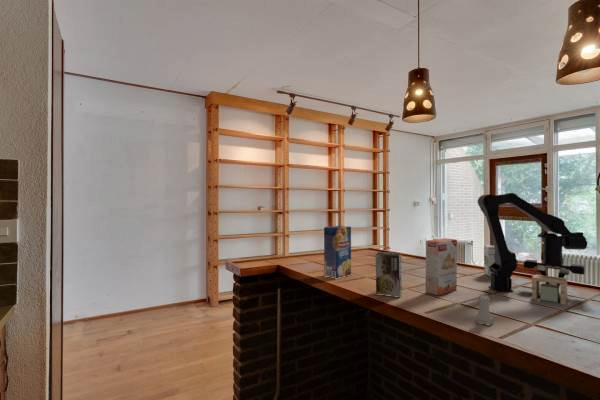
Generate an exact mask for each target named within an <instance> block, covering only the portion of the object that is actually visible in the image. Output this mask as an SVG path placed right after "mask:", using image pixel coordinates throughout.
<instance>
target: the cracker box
mask: <svg viewBox="0 0 600 400" xmlns="http://www.w3.org/2000/svg"><path fill="white" fill-rule="evenodd" d="M457 263H458V240H457V239H455V238H439V239H438V238H436V239H429V240H425V293H427V294H430V295H433V294H434V296H442V295H444V294H448V293H451V292H455V291H457V289H458V288H457V286H458V285H457V282H458V281H457V279H458V278H457V272H458V271H457V269H458V268H457V267H458V266H457V265H458V264H457Z"/></svg>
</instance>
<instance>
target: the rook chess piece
mask: <svg viewBox="0 0 600 400" xmlns="http://www.w3.org/2000/svg"><path fill="white" fill-rule="evenodd" d="M477 300H478V301H479V303H478V305H479V308H478V309H479V310H478V313H477V315H476V316H475V322H476V323H477V322H479V323H482V324H492V325H493V324H494V322H493V317H492V316H491V313H490V304H489V303H490V302H491V299H490V296H488V295H485V294H480V295H478V298H477ZM479 323H478V324H479ZM482 324H481V325H482Z"/></svg>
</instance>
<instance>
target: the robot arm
mask: <svg viewBox="0 0 600 400" xmlns="http://www.w3.org/2000/svg"><path fill="white" fill-rule="evenodd" d="M505 204H509V205H511V206H512V207H514V208H515V209H517V210H518V211H520V212H522V213H523V214H524V215H526V216H528V217H529V218H531V219H532V220H534V221H535V223H536V224H537V225H538V226H539V227H540V228H541V229H542V230H543V231H541V232H540V233H539V234H537V237H538V238H543V251H542V252H541V256H540V257H541V259H540V260H541V261H543V262H538V260H537V259H536V260H535V259H526V260H524V261H523V268H524V269H529V270H530V269H532V270H533V269H535V267H536V268H537V269H536V272H539V273H540V275H543V276H549V269H550V270H551V269H552V270H559V272H558V276H557V277H560V278H565V277H566V276H570V272H571V273H572V274H575V275H585V273H586V272H585V269H586V267H585V266H584V264H578V263H577V264H576V263H571V264H570V265H567V264H565V265H564V257H563V248H564V250H565V249H566V250H586V248H588V241H587V238H586V237H585V235H584V232H581V231H575V232H574V231H573V232H571V231H570V229H568V227H567V226H566V225H565V221H564V220H563V219H562V218H560V217H559V216H555V215H552V214H550V213H546V212H544V211H542V210H540V209H539V208H537V207H536V206H534V205H532V203H530V202H529V201H527V200H525V199H523V198H521V197H520V196H519V195H517V194H516V193H515V192H507V193H503V194H495V195H494V194H489V193H488V194H482V195H479V197H478V199H477V205H478V207H479V209H480V211H481V212H482V214H483V215H484V216H485V218H486V222H487V226H488V229H489V233H490V236H491V241H492V243H493V245H494V247H495V255H494V258H495V262H494V263H493V264H492V265H491V266H490V267H489V270H490V272H492V273H491V277H490V285H488V288H489V289H492V290H494V291H496V292H514V289H512V288H513V287H512V286H513V285H512V284H513V283H512V280H513V279H512V278H511V277H512V275H513V273H514V272H515V271H516V269H518V264H519V262H518V260H517V255H516V253H515V252H513V251H510V250H509V248H508V243H507V241H506V238H505V234H504V231H503V227H502V224H501V220H500V216H499V212H500V211H499V210H500V205H505ZM545 284H549V282H545ZM557 285H558V286H559V288H561V284H557Z"/></svg>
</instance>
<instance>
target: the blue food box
mask: <svg viewBox="0 0 600 400" xmlns="http://www.w3.org/2000/svg"><path fill="white" fill-rule="evenodd" d="M323 228H324V229H323V250H324V251H323V253H324V255H323V262H324V263H323V266H324V268H323V269H324V271H323V275H325V276H329V277H334V278H339V277H343V276H347V275H350V274H351V275H352V226H347V225H346V226H344V225H334V226H324V227H323ZM351 275H350V276H351ZM347 277H348V276H347Z"/></svg>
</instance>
